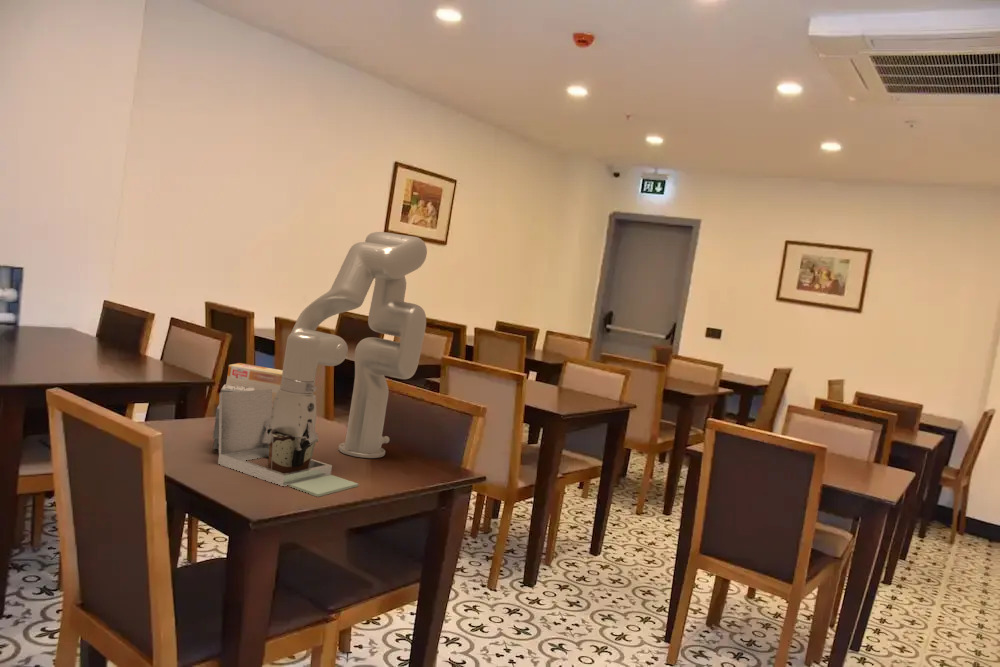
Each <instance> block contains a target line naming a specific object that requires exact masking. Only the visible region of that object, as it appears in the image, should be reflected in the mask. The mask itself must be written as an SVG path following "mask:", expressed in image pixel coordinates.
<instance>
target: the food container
mask: <svg viewBox="0 0 1000 667" xmlns="http://www.w3.org/2000/svg"><path fill="white" fill-rule="evenodd" d="M308 438H309V436H307V439H308ZM267 442H268V443H269V457H268V462H267V463H268V464H267V468H269V469H272V470H275V471H278V472H281V473H284V474H286V473H290V472H295V471H300V470H305V469H309V466H310V462H311V459H313V458H312V457H313V453H314V449H315V445H316V443H318V442H319V439H318V440H316V441H315V442H314V443H313V444H312V445H311V446H310V447H308V449H307V450H305V457H304V462H303V466H299V467H292V460H293V453H294V450H297V449H296V443H295V437H292V436H288V435H285V434H281V433H277V432H276V431H275V429H273V430H271V431H270V433H269V435H268V438H267ZM301 444H302V439H301Z"/></svg>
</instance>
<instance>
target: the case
mask: <svg viewBox="0 0 1000 667" xmlns="http://www.w3.org/2000/svg"><path fill="white" fill-rule="evenodd" d="M218 396H219V400H218V402H219V403H218V406H219V450H218V459H217V465H219V464H220V465H219V466H222V467H225V468H228V469H230V468H231V469H230V470H233V469H234V470H233V471H236V470H237V471H236V472H239V471H240V473H242V472H243V473H242V474H245V475H247V476H251V477H253V476H254V478H256V477H257V479H259V480H263V481H265V480H266V482H268V483H271V482H272V483H271V484H274V483H275V484H274V485H276V484H278V485H277V486H279V485H280V486H279V487H282V486H284V487H287V485H288V486H290V484H294V483H299V482H303V481H307V480H312V479H316V478H320V477H325V476H329V475H332V471H333V470H332V469H333V465H332V464H328V463H325V462H324V461H323V462H322V461H319V460H316V459H313V458H311V462H310V466H309V469H305V470H300V471H295V472H290V473H286V474H284V473H281V472H278V471H275V470H272V469H269V468H268V467H266V466H263V465H259V464H256V463H253V462H250V461H251V460H252V459H253V460H257V458H258V459H263V457H264V458H269V443H268V442H267V438H268V433H267V429H266V427H265V425H264V422H265V421H267V420H268V419H269V418H270V417H271V414H272V389H268V390H253V391H238V392H223V393H221V392H219V395H218ZM246 460H247V461H246Z"/></svg>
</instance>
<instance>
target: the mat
mask: <svg viewBox="0 0 1000 667" xmlns="http://www.w3.org/2000/svg"><path fill="white" fill-rule="evenodd" d="M290 487H292V488H291V489H293V488H295V490H296V489H297V491H299V490H300V492H302V491H303V492H302V493H305V492H306V493H305V494H308V493H309V494H308V495H311V496H314V497H316V496H317V497H316V498H318V497H319V498H320V497H323V496H326V495H329V494H335V493H337V492H342V491H346V490H349V489H354V488H356V487H357V488H358V487H359V483H357V482H355V481H352V480H348V479H345V478H342V477H339V476H336V475H333V474H331V475H329V476H325V477H320V478H316V479H312V480H307V481H303V482H299V483H294V484H290V485H289V488H290Z"/></svg>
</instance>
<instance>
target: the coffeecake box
mask: <svg viewBox="0 0 1000 667" xmlns="http://www.w3.org/2000/svg"><path fill="white" fill-rule="evenodd" d="M227 368H228V370H227V377H226V383H225V384H227V385H235V386H238V387H241V386H244V387H253V388H255V390H268V389H272V409H273V404H274V401H275V397H276V394H277V392H278V389H280V385H281V378H282V372H283V369H277V368H270V367H265V366H259V365H254V364H248V363H242V362H237V363H232V364H228V367H227Z"/></svg>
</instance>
